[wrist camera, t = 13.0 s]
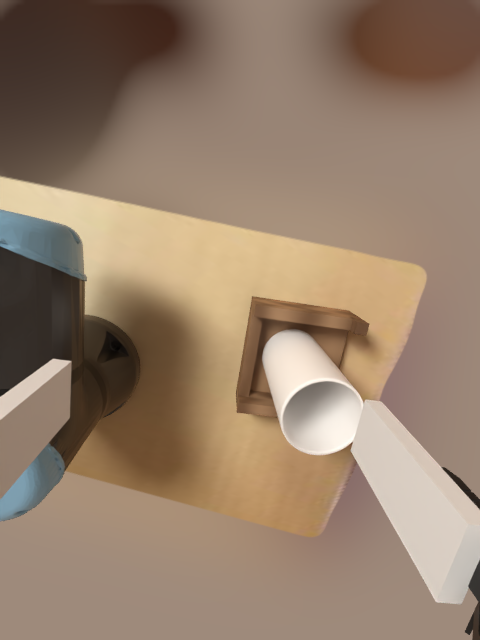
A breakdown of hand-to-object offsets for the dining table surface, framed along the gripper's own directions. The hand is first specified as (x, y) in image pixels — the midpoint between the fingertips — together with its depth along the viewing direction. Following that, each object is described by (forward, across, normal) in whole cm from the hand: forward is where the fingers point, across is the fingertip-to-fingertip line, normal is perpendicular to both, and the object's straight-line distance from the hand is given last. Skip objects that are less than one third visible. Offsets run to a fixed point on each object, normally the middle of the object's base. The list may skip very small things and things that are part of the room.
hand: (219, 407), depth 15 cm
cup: (+30, +11, -8) cm, 33 cm away
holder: (+32, +11, -8) cm, 34 cm away
